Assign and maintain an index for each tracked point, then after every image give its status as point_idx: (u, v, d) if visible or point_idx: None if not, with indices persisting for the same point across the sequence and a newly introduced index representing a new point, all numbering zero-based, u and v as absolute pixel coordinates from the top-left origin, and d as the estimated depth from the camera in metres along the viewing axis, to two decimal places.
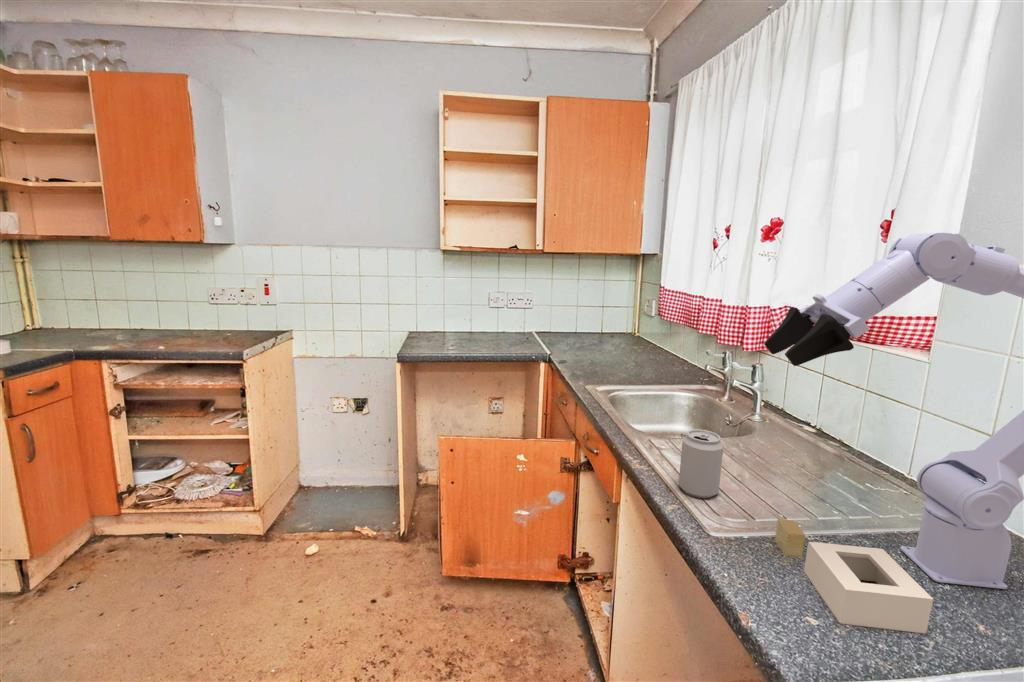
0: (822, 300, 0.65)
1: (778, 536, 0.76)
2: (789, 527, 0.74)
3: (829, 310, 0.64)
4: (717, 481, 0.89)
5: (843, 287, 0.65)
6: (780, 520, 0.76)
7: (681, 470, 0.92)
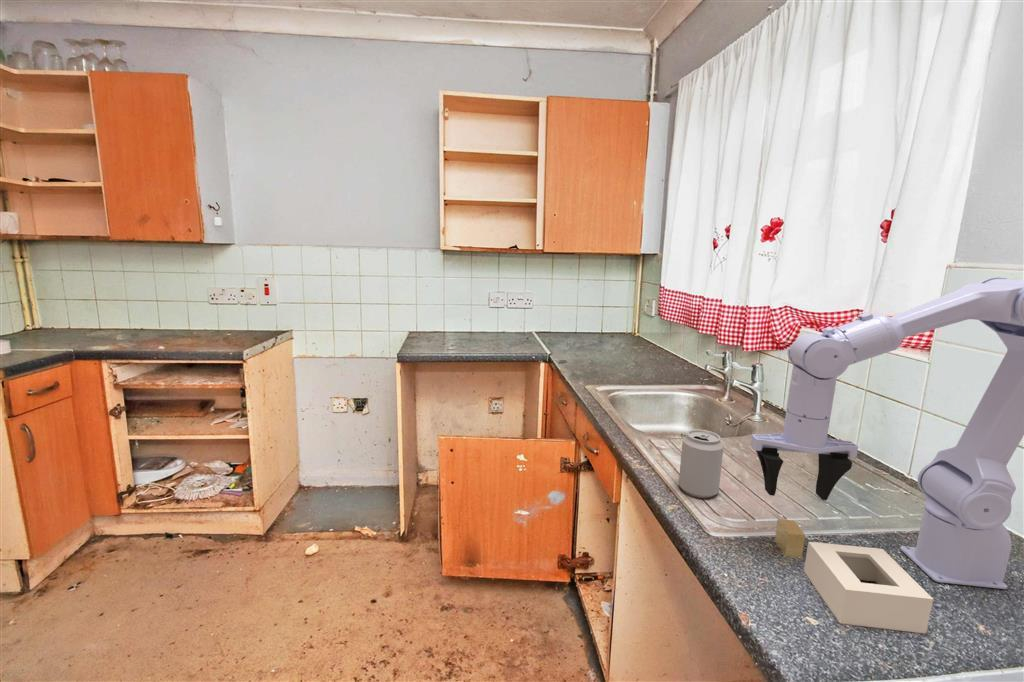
0: None
1: (778, 536, 0.76)
2: (789, 526, 0.74)
3: None
4: (717, 481, 0.89)
5: None
6: (780, 520, 0.76)
7: (681, 470, 0.92)
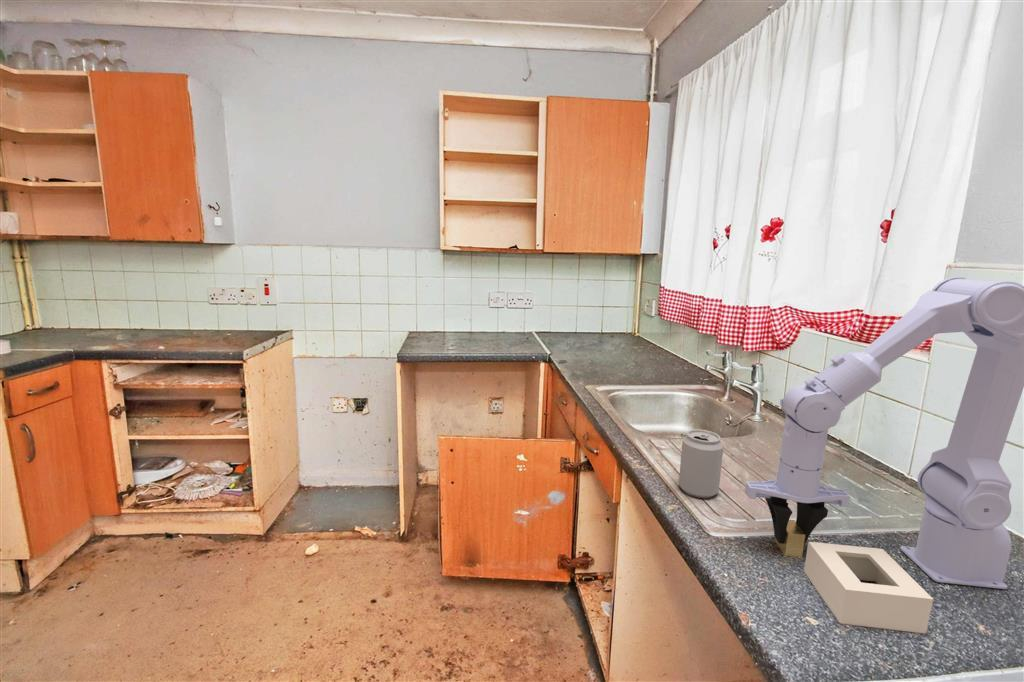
0: None
1: None
2: (789, 526, 0.74)
3: None
4: (717, 481, 0.89)
5: None
6: None
7: (681, 470, 0.92)
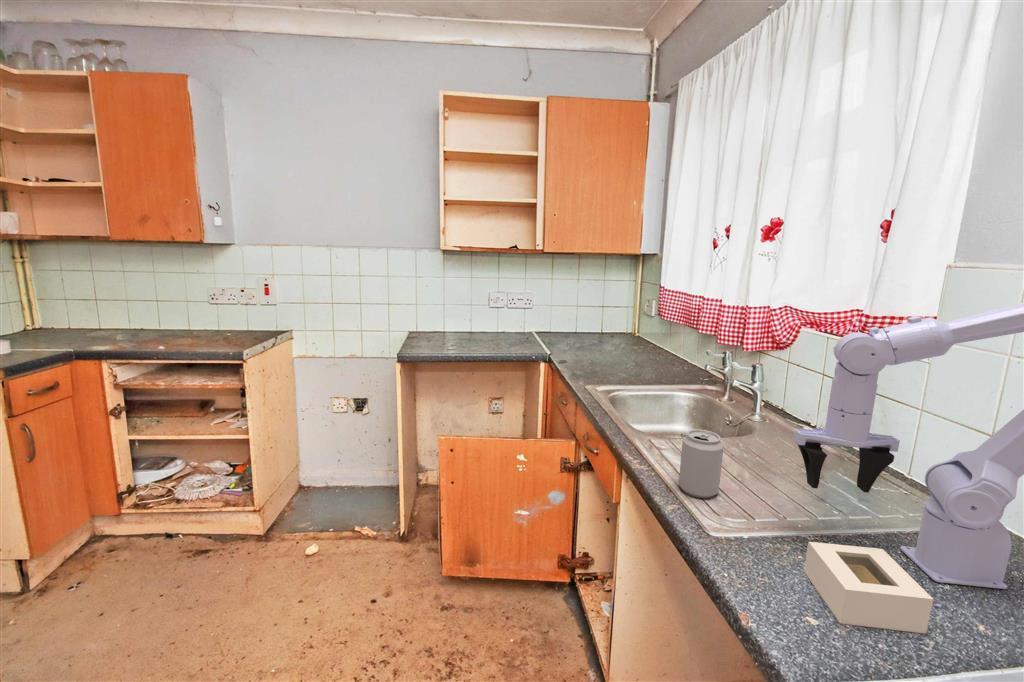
0: None
1: None
2: (861, 574, 0.63)
3: None
4: (717, 481, 0.89)
5: None
6: (848, 565, 0.65)
7: (681, 470, 0.92)
